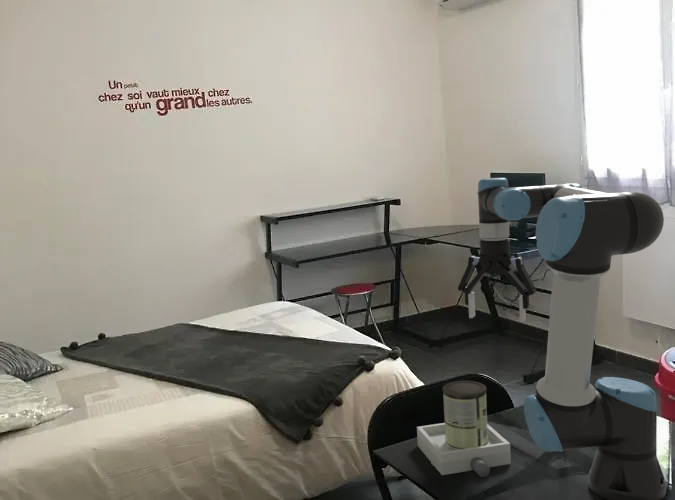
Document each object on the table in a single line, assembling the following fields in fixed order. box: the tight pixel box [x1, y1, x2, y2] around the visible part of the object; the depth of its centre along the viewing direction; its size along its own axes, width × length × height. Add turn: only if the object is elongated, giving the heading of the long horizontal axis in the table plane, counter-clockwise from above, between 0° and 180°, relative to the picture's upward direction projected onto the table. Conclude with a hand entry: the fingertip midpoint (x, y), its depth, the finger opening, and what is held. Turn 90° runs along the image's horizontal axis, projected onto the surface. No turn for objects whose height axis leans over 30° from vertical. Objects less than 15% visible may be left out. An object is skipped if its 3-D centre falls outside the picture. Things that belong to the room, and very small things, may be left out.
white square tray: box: [416, 422, 512, 478], centre depth 166 cm, size 21×17×5 cm
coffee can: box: [442, 380, 488, 450], centre depth 166 cm, size 10×10×14 cm
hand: (497, 319), depth 182 cm, fingers open, 13 cm apart
